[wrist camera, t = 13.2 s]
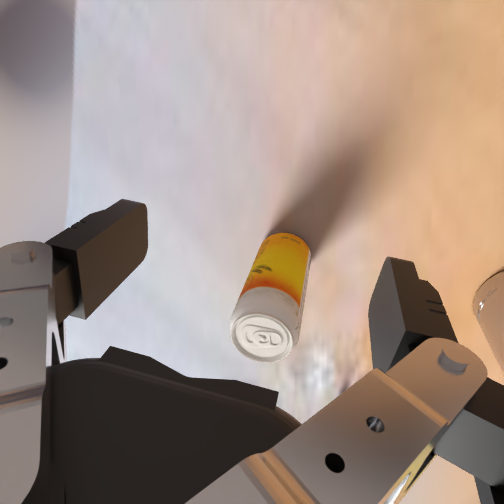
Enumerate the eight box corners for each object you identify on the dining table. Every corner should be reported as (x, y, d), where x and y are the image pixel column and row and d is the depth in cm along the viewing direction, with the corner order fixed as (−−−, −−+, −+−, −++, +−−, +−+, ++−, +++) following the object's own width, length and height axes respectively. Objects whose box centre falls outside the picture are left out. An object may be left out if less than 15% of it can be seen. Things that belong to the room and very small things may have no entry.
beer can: (258, 229, 42) (222, 307, 30) (311, 230, 41) (297, 313, 28) (262, 273, 45) (230, 362, 33) (311, 275, 44) (298, 369, 31)
